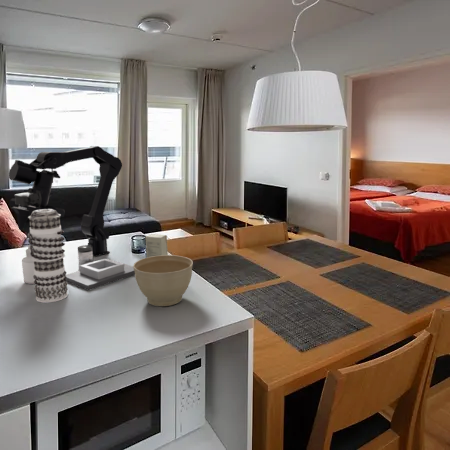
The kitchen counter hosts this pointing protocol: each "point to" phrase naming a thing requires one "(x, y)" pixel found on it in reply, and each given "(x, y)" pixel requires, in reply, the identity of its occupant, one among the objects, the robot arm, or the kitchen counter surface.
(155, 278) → the planter bowl
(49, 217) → the white patterned cylinder
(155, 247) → the skincare box
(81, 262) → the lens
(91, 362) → the kitchen counter surface
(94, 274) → the white tray on slab
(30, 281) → the eye dropper bottle
